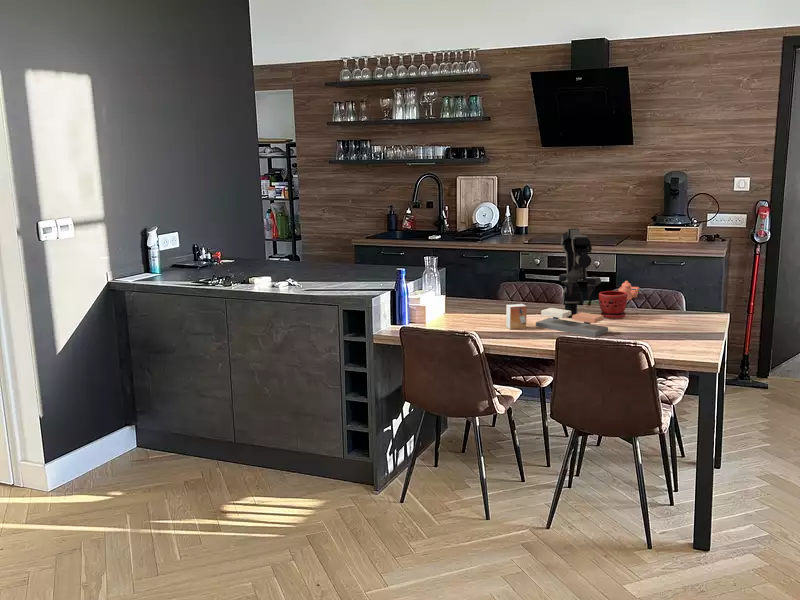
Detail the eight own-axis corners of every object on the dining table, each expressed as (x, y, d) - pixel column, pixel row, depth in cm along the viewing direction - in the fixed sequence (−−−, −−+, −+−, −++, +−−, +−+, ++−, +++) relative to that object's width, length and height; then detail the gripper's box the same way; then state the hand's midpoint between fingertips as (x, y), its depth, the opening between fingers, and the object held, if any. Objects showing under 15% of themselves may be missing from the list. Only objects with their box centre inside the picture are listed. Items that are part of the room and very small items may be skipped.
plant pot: (622, 313, 385) (623, 289, 382) (629, 320, 372) (630, 295, 369) (595, 314, 385) (596, 290, 383) (601, 320, 372) (602, 295, 370)
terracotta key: (581, 319, 357) (581, 312, 356) (603, 323, 350) (603, 315, 349) (571, 323, 351) (572, 315, 351) (594, 326, 344) (594, 318, 343)
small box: (509, 329, 358) (510, 306, 355) (505, 326, 363) (506, 304, 361) (526, 328, 359) (527, 305, 357) (522, 325, 364) (522, 303, 362)
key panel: (549, 321, 371) (549, 317, 370) (608, 331, 351) (608, 327, 351) (535, 326, 362) (535, 322, 362) (594, 336, 342) (595, 332, 342)
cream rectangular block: (550, 315, 368) (550, 307, 367) (571, 318, 360) (571, 310, 360) (541, 318, 362) (541, 310, 361) (562, 321, 355) (562, 313, 354)
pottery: (621, 293, 435) (621, 275, 433) (638, 294, 431) (639, 276, 429) (615, 299, 419) (616, 281, 417) (633, 301, 415) (634, 282, 413)
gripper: (552, 264, 358) (552, 298, 361) (589, 268, 345) (588, 303, 348) (565, 261, 366) (564, 294, 369) (602, 265, 353) (600, 299, 356)
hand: (579, 297), depth 360 cm, fingers open, 9 cm apart
